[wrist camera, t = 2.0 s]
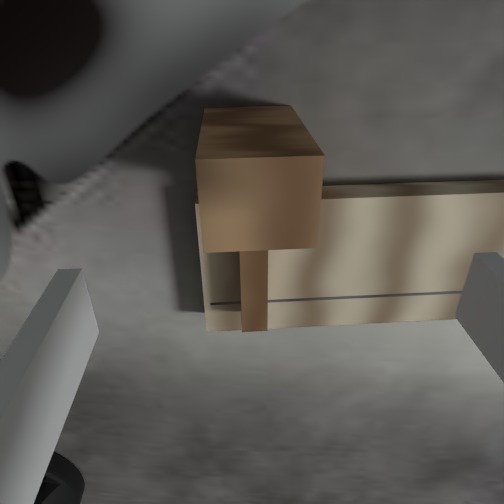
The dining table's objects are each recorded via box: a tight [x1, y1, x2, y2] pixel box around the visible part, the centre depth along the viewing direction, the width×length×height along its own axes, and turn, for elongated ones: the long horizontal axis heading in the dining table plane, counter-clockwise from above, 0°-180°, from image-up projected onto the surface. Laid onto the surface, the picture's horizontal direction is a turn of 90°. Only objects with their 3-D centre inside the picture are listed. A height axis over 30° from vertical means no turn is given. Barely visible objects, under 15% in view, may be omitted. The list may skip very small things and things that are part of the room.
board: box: [195, 180, 504, 332], centre depth 34 cm, size 30×12×2 cm, turn 91°
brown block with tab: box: [195, 106, 325, 332], centre depth 28 cm, size 6×16×11 cm, turn 1°
